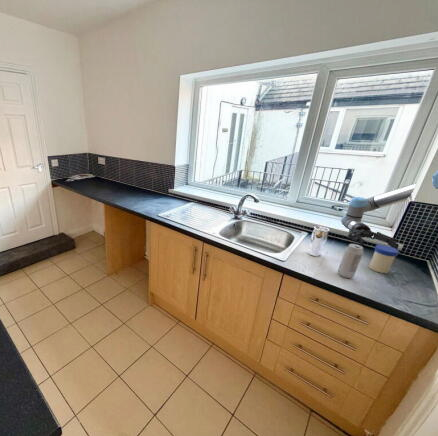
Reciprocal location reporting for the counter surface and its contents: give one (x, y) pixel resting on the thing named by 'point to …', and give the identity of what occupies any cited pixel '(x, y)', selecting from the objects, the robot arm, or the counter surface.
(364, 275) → the counter surface
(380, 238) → the robot arm
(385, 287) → the counter surface
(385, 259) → the jam jar
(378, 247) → the jar lid
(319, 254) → the beer glass
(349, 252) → the energy drink can
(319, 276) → the counter surface
